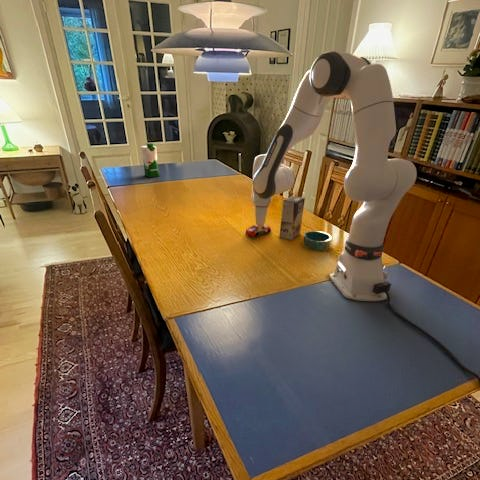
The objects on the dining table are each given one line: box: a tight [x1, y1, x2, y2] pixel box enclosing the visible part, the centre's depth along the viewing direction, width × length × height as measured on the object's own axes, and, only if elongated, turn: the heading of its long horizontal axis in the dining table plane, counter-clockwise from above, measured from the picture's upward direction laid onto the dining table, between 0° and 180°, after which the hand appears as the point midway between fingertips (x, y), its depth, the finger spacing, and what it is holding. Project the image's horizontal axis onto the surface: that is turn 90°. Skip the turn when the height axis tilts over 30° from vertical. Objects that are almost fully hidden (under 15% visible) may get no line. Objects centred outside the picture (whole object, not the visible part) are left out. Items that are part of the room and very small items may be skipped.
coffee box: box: [279, 195, 306, 241], centre depth 148 cm, size 9×6×16 cm
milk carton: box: [140, 142, 160, 178], centre depth 227 cm, size 9×9×20 cm
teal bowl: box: [302, 230, 332, 252], centre depth 143 cm, size 11×11×4 cm
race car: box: [245, 224, 272, 238], centre depth 153 cm, size 13×5×4 cm, turn 129°
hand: (260, 227), depth 151 cm, fingers closed on race car, 6 cm apart
